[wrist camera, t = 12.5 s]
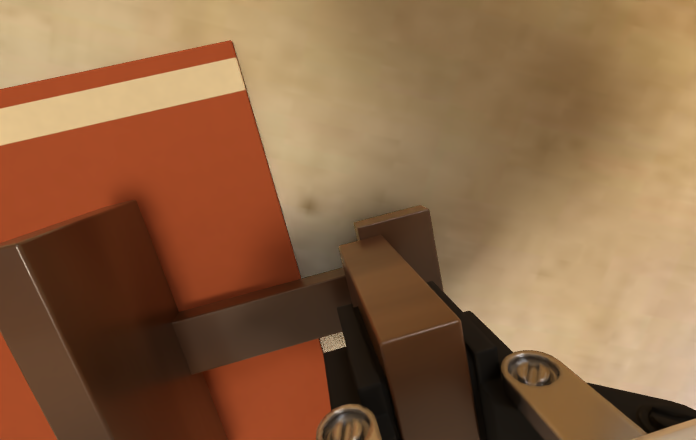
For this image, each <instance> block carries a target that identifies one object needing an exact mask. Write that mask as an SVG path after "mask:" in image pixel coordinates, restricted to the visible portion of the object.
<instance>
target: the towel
mask: <svg viewBox="0 0 696 440" xmlns="http://www.w3.org/2000/svg"><path fill="white" fill-rule="evenodd" d="M131 200H136V201H137V204H138V206H139V209H140V211H141V214H142V217H143V219H144V222H145V225H146V227H147V230H148V232H149V235H150V238H151V240H152V243H153V245H154V248H155V251H156V253H157V256H158V258H159V261H160V264H161V266H162V269H163V272H164V274H165V277H166V279H167V282H168V285H169V287H170V290H171V292H172V295H173V298H174V300H175V303H176V306H177V308H178V311H179V312H180V311H184V310H188V309H191V308H195V307H199V306H202V305H206V304H210V303H213V302H217V301H221V300H225V299H228V298H232V297H236V296H239V295H243V294H247V293H250V292H254V291H258V290H261V289H265V288H269V287H272V286H276V285H280V284H284V283H287V282H291V281H295V280H298V279H301V276H300V273H299V269H298V266H297V262H296V259H295V255H294V252H293V249H292V245H291V242H290V238H289V235H288V231H287V228H286V225H285V221H284V218H283V214H282V211H281V207H280V204H279V201H278V197H277V194H276V190H275V187H274V183H273V180H272V177H271V173H270V170H269V166H268V163H267V159H266V156H265V153H264V149H263V146H262V142H261V139H260V135H259V132H258V129H257V125H256V122H255V118H254V115H253V111H252V108H251V105H250V101H249V98H248V94H247V91H246V87H245V84H244V81H243V77H242V74H241V70H240V67H239V63H238V60H237V57H236V53H235V50H234V46H233V43H232V41H231V40H230V41H225V42H220V43H216V44H211V45H206V46H202V47H197V48H192V49H188V50H183V51H178V52H173V53H169V54H164V55H159V56H155V57H150V58H145V59H141V60H136V61H131V62H126V63H122V64H117V65H112V66H108V67H103V68H98V69H94V70H89V71H84V72H80V73H75V74H70V75H65V76H61V77H56V78H51V79H47V80H42V81H37V82H33V83H28V84H23V85H18V86H14V87H9V88H4V89H0V243H2V242H5V241H8V240H11V239H14V238H17V237H19V236H22V235H25V234H28V233H31V232H34V231H37V230H40V229H42V228H45V227H48V226H51V225H54V224H57V223H60V222H63V221H65V220H68V219H71V218H74V217H77V216H80V215H83V214H85V213H88V212H91V211H94V210H97V209H100V208H103V207H106V206H110V205H114V204H118V203H122V202H127V201H131ZM202 373H203V376H204V379H205V381H206V384H207V387H208V389H209V392H210V394H211V397H212V400H213V402H214V405H215V407H216V410H217V413H218V415H219V418H220V421H221V423H222V426H223V428H224V431H225V434H226V436H227V439H228V440H316V431H317V428H318V425H319V423H320V421H321V420H322V419H323V418H324V416H325V415H326V414H328V413H329V412H330V411H331V406H330V399H329V392H328V385H327V378H326V371H325V364H324V356H323V351H322V348H321V344H320V341H319V338H318V339H314V340H311V341H308V342H304V343H301V344H297V345H294V346H290V347H287V348H283V349H280V350H276V351H273V352H269V353H266V354H262V355H259V356H255V357H252V358H249V359H245V360H242V361H238V362H235V363H231V364H228V365H224V366H221V367H217V368H214V369H210V370H207V371H203V372H202ZM0 440H57V438H56V436H55V434H54V432H53V430H52V429H51V427H50V425H49V423H48V421H47V419H46V417H45V415H44V413H43V412H42V410H41V408H40V406H39V404H38V402H37V400H36V398H35V397H34V395H33V393H32V391H31V389H30V387H29V385H28V383H27V381H26V380H25V378H24V376H23V374H22V372H21V370H20V368H19V366H18V364H17V363H16V361H15V359H14V357H13V355H12V353H11V351H10V349H9V347H8V346H7V344H6V342H5V340H4V338H3V336H2V334H1V332H0Z"/></svg>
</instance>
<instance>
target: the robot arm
mask: <svg viewBox="0 0 696 440" xmlns="http://www.w3.org/2000/svg"><path fill="white" fill-rule="evenodd" d="M426 283H427V284H428V285H429V287H430V288H431V289H432V290H433V291H434V292H435V293H436V294H437V295H438V296H439V297H440V298H441V299H442V300H443V302H444V303H445V304H446V305H447V306H448V307H449V308H450V309H451V310H452V311H453V312H454V313H455V314H456V315H457V317H458V318H459V319H460V320H461V324H462V330H463V336H464V342H465V348H466V354H467V360H468V366H469V372H470V378H471V384H472V391H473V397H474V403H475V409H476V415H477V421H478V427H479V433H480V439H481V440H696V410H693V409H691V408H689V407H687V406H685V405H682V404H678V403H675V402H672V401H668V400H663V399H659V398H654V397H650V396H645V395H641V394H636V393H632V392H627V391H623V390H618V389H614V388H609V387H605V386H600V385H595V384H591V383H586V382H585V381H583V380H582V379H581V378H580V377H579V376H577V375H576V374H575V373H574V372H573V371H571V370H570V369H569V368H568V367H567V366H565V365H564V364H563V363H562V362H560V361H559V360H558V359H556V358H555V357H553V356H551V355H549V354H546V353H543V352H539V351H533V350H523V351H518V352H514V353H513V352H512V351H511V350H510V349H509V348H508V347H507V346H506V345H505V344H504V343H503V342H502V341H501V340H500V339H499V338H498V337H497V336H496V335H495V334H494V333H493V332H492V331H491V330H490V329H489V328H488V327H487V326H486V325H485V324H484V323H483V322H482V321H481V320H479V319H478V318H477V317H476V316H475V315H474V314H473V313H472V312H471V311H466V312H462V311H461V310H460V309H459V308H458V307H457V306H456V305H455V304H454V303H453V301H452V300H451V299H450V298H449V297H448V296H447V295H446V294H445V293H444V292H443V291H442V290H441V289H440V288H439V287H438V286H437V285H436V284H435V283H434V282H433V281H429V282H426ZM337 312H338V315H339V319H340V323H341V327H342V331H343V335H344V339H345V342H346V346H347V347H343V348H340V349H337V350H333V351H330V352H326V353H323V356H324V364H325V371H326V378H327V385H328V392H329V399H330V406H331V411H330V412H329V413H328V414H326V415H325V416H324V418H323V419H322V420H321V421H320V423H319V425H318V428H317V431H316V440H400V436H399V431H398V427H397V423H396V418H395V414H394V410H393V405H392V401H391V397H390V393H389V389H388V385H387V382H386V378H385V375H384V373H383V370H382V367H381V365H380V362H379V360H378V357H377V354H376V352H375V349H374V347H373V344H372V341H371V339H370V336H369V334H368V331H367V328H366V326H365V323H364V321H363V318H362V315H361V313H360V310H359V308H358V306H357V307H353V304H352V303H351V304H348V305H344V306H341V307H337Z"/></svg>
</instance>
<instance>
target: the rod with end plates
mask: <svg viewBox="0 0 696 440" xmlns="http://www.w3.org/2000/svg"><path fill="white" fill-rule="evenodd" d="M354 228H355V232H356V237H357V241H355V242H352V243H348V244H344V245H340V246H339V252H340V256H341V260H342V264H343V268H339V269H335V270H331V271H328V272H324V273H320V274H317V275H313V276H309V277H306V278H302V279H298V280H295V281H291V282H287V283H284V284H280V285H276V286H272V287H269V288H265V289H261V290H258V291H254V292H250V293H247V294H243V295H239V296H236V297H232V298H228V299H225V300H221V301H217V302H213V303H210V304H206V305H202V306H199V307H195V308H191V309H188V310H184V311H180V312H179V311H178V308H177V306H176V303H175V300H174V298H173V295H172V292H171V290H170V287H169V285H168V282H167V279H166V277H165V274H164V272H163V269H162V266H161V264H160V261H159V258H158V256H157V253H156V251H155V248H154V245H153V243H152V240H151V238H150V235H149V232H148V230H147V227H146V225H145V222H144V219H143V217H142V214H141V211H140V209H139V206H138V204H137V201H136V200H131V201H127V202H122V203H118V204H114V205H110V206H106V207H103V208H100V209H97V210H94V211H91V212H88V213H85V214H83V215H80V216H77V217H74V218H71V219H68V220H65V221H63V222H60V223H57V224H54V225H51V226H48V227H45V228H42V229H40V230H37V231H34V232H31V233H28V234H25V235H22V236H19V237H17V238H14V239H11V240H8V241H5V242H2V243H0V332H1V334H2V336H3V338H4V340H5V342H6V344H7V346H8V347H9V349H10V351H11V353H12V355H13V357H14V359H15V361H16V363H17V364H18V366H19V368H20V370H21V372H22V374H23V376H24V378H25V380H26V381H27V383H28V385H29V387H30V389H31V391H32V393H33V395H34V397H35V398H36V400H37V402H38V404H39V406H40V408H41V410H42V412H43V413H44V415H45V417H46V419H47V421H48V423H49V425H50V427H51V429H52V430H53V432H54V434H55V436H56V438H57V440H228V439H227V436H226V434H225V431H224V428H223V426H222V423H221V421H220V418H219V415H218V413H217V410H216V407H215V405H214V402H213V400H212V397H211V394H210V392H209V389H208V387H207V384H206V381H205V379H204V376H203V373H202V372H203V371H207V370H210V369H214V368H217V367H221V366H224V365H228V364H231V363H235V362H238V361H242V360H245V359H249V358H252V357H255V356H259V355H262V354H266V353H269V352H273V351H276V350H280V349H283V348H287V347H290V346H294V345H297V344H301V343H304V342H308V341H311V340H314V339H318V338H321V337H325V336H328V335H332V334H335V333H339V332H342V327H341V323H340V319H339V315H338V312H337V307H341V306H344V305H348V304H351V303H352V304H353V307H357V306H358V308H359V310H360V313H361V315H362V318H363V321H364V323H365V326H366V328H367V331H368V334H369V336H370V339H371V341H372V344H373V347H374V349H375V352H376V354H377V357H378V360H379V362H380V365H381V367H382V370H383V373H384V375H385V378H386V382H387V385H388V389H389V393H390V397H391V401H392V405H393V410H394V414H395V418H396V423H397V427H398V431H399V436H400V440H481V439H480V433H479V427H478V421H477V415H476V409H475V403H474V397H473V391H472V384H471V378H470V372H469V366H468V360H467V354H466V348H465V342H464V336H463V330H462V324H461V320H460V319H459V318H458V317H457V315H456V314H455V313H454V312H453V311H452V310H451V309H450V308H449V307H448V306H447V305H446V304H445V303H444V302H443V300H442V299H441V298H440V297H439V296H438V295H437V294H436V293H435V292H434V291H433V290H432V289H431V288H430V287H429V285H428V284H427V283H426V282H429V281H433V282H434V283H435V284H436V285H437V286H438V287H439V288H440V289H441V290H442V291H443V286H442V281H441V275H440V269H439V264H438V258H437V252H436V246H435V241H434V235H433V229H432V223H431V218H430V212H429V209H427V208H425V207H423V206H421V205H418V206H415V207H411V208H407V209H403V210H399V211H395V212H392V213H388V214H384V215H380V216H376V217H372V218H368V219H365V220H361V221H357V222H354Z"/></svg>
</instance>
